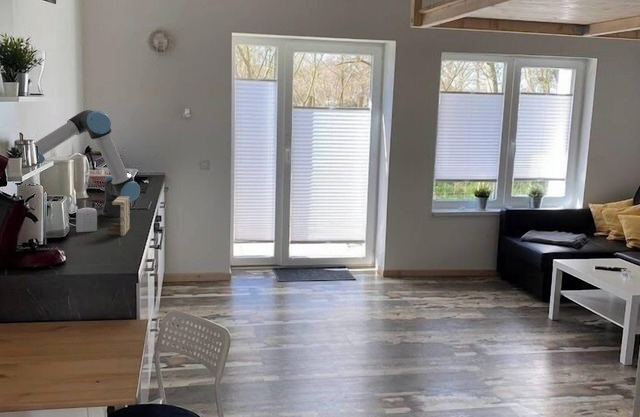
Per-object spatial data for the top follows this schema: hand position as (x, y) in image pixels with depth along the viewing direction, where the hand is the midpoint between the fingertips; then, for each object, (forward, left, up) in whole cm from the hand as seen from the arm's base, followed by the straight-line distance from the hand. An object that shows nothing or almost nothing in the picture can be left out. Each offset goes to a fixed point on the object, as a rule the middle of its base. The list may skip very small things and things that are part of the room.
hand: (66, 221), depth 319 cm
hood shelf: (0, +26, -5) cm, 26 cm away
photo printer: (0, +10, -5) cm, 11 cm away
